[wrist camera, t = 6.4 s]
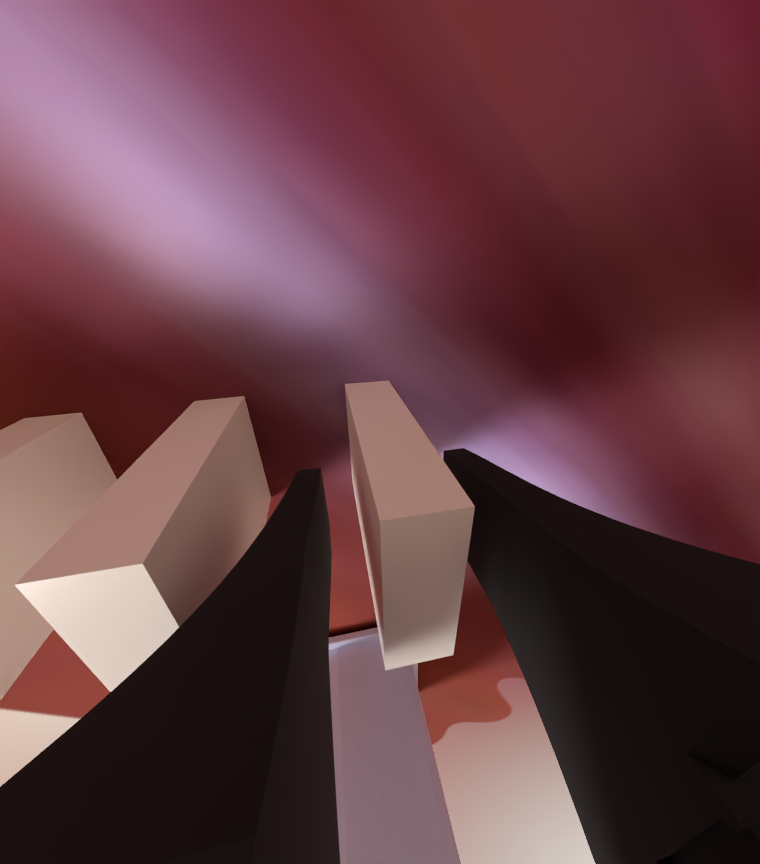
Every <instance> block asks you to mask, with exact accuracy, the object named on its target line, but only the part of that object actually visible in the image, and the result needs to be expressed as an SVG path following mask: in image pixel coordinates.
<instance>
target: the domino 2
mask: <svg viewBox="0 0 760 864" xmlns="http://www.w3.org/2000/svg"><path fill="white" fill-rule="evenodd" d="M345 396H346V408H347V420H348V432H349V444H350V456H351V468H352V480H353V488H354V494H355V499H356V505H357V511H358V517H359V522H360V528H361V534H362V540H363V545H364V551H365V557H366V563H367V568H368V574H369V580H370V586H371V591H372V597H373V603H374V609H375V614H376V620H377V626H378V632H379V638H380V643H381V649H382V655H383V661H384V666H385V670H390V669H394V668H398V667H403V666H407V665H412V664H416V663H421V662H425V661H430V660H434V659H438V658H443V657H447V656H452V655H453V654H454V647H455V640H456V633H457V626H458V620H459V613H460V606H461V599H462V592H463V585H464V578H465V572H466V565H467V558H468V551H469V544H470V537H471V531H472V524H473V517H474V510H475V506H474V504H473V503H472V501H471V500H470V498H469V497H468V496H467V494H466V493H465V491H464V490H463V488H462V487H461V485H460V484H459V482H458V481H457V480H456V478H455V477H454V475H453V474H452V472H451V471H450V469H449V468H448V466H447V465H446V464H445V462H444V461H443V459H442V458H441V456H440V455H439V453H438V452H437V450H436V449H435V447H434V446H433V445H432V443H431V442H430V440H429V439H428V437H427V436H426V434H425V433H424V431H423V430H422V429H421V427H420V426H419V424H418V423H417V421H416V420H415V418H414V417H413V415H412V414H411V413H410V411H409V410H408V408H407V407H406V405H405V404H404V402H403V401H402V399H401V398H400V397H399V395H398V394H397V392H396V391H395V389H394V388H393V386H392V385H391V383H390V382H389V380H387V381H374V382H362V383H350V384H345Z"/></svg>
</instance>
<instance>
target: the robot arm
mask: <svg viewBox="0 0 760 864" xmlns="http://www.w3.org/2000/svg"><path fill="white" fill-rule="evenodd" d="M443 461H444V462H445V464H446V465H447V466H448V468H449V469H450V471H451V472H452V474H453V475H454V477H455V478H456V480H457V481H458V482H459V484H460V485H461V487H462V488H463V490H464V491H465V493H466V494H467V496H468V497H469V498H470V500H471V501H472V503H473V504H474V506H475V510H474V517H473V524H472V531H471V537H470V544H469V551H468V558H467V561H468V563H469V564H470V566H471V568H472V570H473V571H474V573H475V575H476V577H477V579H478V580H479V582H480V584H481V586H482V588H483V589H484V591H485V593H486V595H487V597H488V598H489V600H490V602H491V604H492V606H493V608H494V610H495V612H496V614H497V616H498V618H499V620H500V622H501V625H502V627H503V629H504V631H505V634H506V636H507V638H508V640H509V643H510V645H511V647H512V649H513V652H514V654H515V656H516V659H517V661H518V663H519V666H520V668H521V671H522V673H523V675H524V678H525V680H526V682H527V685H528V687H529V690H530V692H531V694H532V697H533V699H534V701H535V704H536V707H537V709H538V712H539V714H540V717H541V719H542V722H543V724H544V727H545V729H546V732H547V734H548V737H549V740H550V742H551V745H552V747H553V749H554V752H555V754H556V757H557V760H558V762H559V765H560V768H561V771H562V773H563V776H564V779H565V781H566V784H567V787H568V789H569V792H570V795H571V798H572V800H573V803H574V806H575V808H576V811H577V814H578V816H579V819H580V822H581V824H582V827H583V830H584V833H585V836H586V839H587V841H588V844H589V847H590V850H591V853H592V855H593V858H594V861H595V863H596V864H760V564H756V563H752V562H749V561H745V560H741V559H738V558H734V557H730V556H727V555H723V554H719V553H716V552H712V551H708V550H705V549H702V548H698V547H695V546H692V545H688V544H685V543H682V542H678V541H675V540H672V539H669V538H666V537H663V536H660V535H657V534H654V533H651V532H648V531H645V530H642V529H639V528H636V527H633V526H630V525H627V524H624V523H622V522H619V521H616V520H613V519H611V518H608V517H606V516H603V515H601V514H598V513H596V512H593V511H591V510H588V509H586V508H583V507H581V506H578V505H576V504H574V503H571V502H569V501H567V500H565V499H562V498H560V497H558V496H556V495H554V494H552V493H550V492H547V491H545V490H543V489H541V488H539V487H537V486H535V485H533V484H531V483H529V482H527V481H525V480H523V479H521V478H519V477H517V476H515V475H514V474H512V473H510V472H508V471H506V470H504V469H502V468H500V467H499V466H497V465H495V464H493V463H491V462H489V461H487V460H486V459H484V458H482V457H480V456H478V455H476V454H474V453H472V452H470V451H468V450H466V449H464V448H462V449H454V450H447V451H444V459H443ZM330 585H331V539H330V526H329V518H328V511H327V505H326V499H325V493H324V487H323V480H322V474H321V468H315V469H307V470H300V471H298V472H297V473H296V475H295V477H294V478H293V480H292V482H291V484H290V486H289V488H288V489H287V491H286V493H285V495H284V496H283V498H282V500H281V501H280V503H279V505H278V506H277V508H276V509H275V511H274V512H273V514H272V516H271V517H270V519H269V520H268V522H267V523H266V525H265V526H264V528H263V529H262V530H261V532H260V533H259V534H258V536H257V537H256V539H255V540H254V541H253V543H252V544H251V545H250V547H249V548H248V550H247V551H246V552H245V554H244V555H243V556H242V557H241V559H240V560H239V561H238V562H237V564H236V565H235V566H234V567H233V569H232V570H231V571H230V572H229V573H228V575H227V576H226V577H225V578H224V579H223V580H222V582H221V583H220V584H219V585H218V586H217V587H216V589H215V590H214V591H213V592H212V593H211V594H210V595H209V596H208V597H207V598H206V599H205V601H204V602H203V603H202V604H201V605H200V606H199V607H198V608H197V609H196V610H195V611H194V612H193V613H192V614H191V616H190V617H189V618H188V619H187V620H186V621H185V622H184V623H183V624H182V625H181V626H180V627H179V628H178V629H177V630H176V631H175V632H174V633H173V634H172V635H171V636H170V637H169V638H168V639H167V640H166V641H165V642H164V643H163V644H162V645H161V646H160V647H159V648H158V649H157V650H156V651H155V652H154V653H153V654H152V655H150V656H149V657H148V658H147V659H146V660H145V661H144V662H143V663H142V664H141V665H140V666H139V667H138V668H137V669H136V670H135V671H133V672H132V673H131V674H130V675H129V676H128V677H127V678H126V679H125V680H124V681H123V682H121V683H120V684H119V685H118V686H117V687H116V688H115V689H114V690H113V691H112V692H110V693H109V694H108V695H107V696H106V697H105V698H104V699H103V700H102V701H101V702H99V703H98V704H97V705H96V706H95V707H94V708H93V709H91V710H90V711H89V712H88V713H87V714H86V715H85V716H84V717H82V718H81V719H80V720H79V721H78V722H77V723H76V724H74V725H73V726H72V727H71V728H70V729H69V730H67V731H66V732H65V733H64V734H63V735H61V736H60V737H59V738H58V739H57V740H55V741H54V742H53V743H52V744H51V745H50V746H49V747H47V748H46V749H45V750H44V751H43V752H41V753H40V754H39V755H38V756H37V757H35V758H34V759H33V760H32V761H31V762H29V763H28V764H27V765H26V766H25V767H23V768H22V769H21V770H20V771H19V772H17V773H16V774H15V775H14V776H13V777H12V778H10V779H9V780H8V781H7V782H6V783H5V784H3V785H2V786H1V787H0V864H461V863H460V859H459V855H458V851H457V847H456V843H455V839H454V835H453V830H452V826H451V822H450V818H449V814H448V810H447V806H446V802H445V798H444V793H443V789H442V785H441V781H440V777H439V773H438V769H437V765H436V761H435V757H434V752H433V748H432V744H431V740H430V736H429V732H428V728H427V723H426V719H425V715H424V711H423V707H422V703H421V699H420V695H419V691H418V663H416V664H412V665H407V666H403V667H398V668H394V669H390V670H385V666H384V661H383V655H382V649H381V643H380V638H379V632H378V627H376V628H371V629H367V630H362V631H357V632H352V633H348V634H343V635H338V636H334V637H329V613H330Z"/></svg>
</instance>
